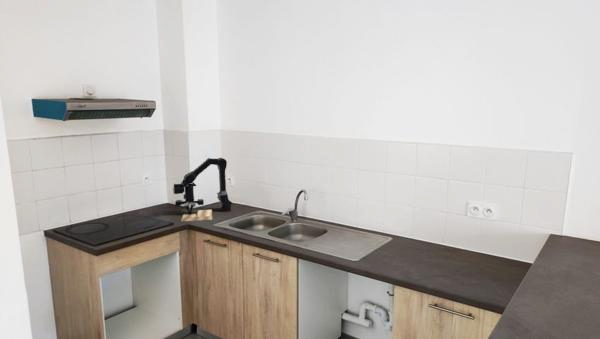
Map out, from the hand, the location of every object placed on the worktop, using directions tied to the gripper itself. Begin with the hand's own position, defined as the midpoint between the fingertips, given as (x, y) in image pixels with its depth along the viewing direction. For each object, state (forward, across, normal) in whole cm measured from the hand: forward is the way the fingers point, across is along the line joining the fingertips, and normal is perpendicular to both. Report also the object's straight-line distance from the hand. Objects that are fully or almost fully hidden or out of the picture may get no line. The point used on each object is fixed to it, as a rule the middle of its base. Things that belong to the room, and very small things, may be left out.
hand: (190, 214), depth 287 cm
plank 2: (0, -10, +2) cm, 10 cm away
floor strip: (+1, -5, +10) cm, 12 cm away
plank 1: (+1, 0, +3) cm, 3 cm away
